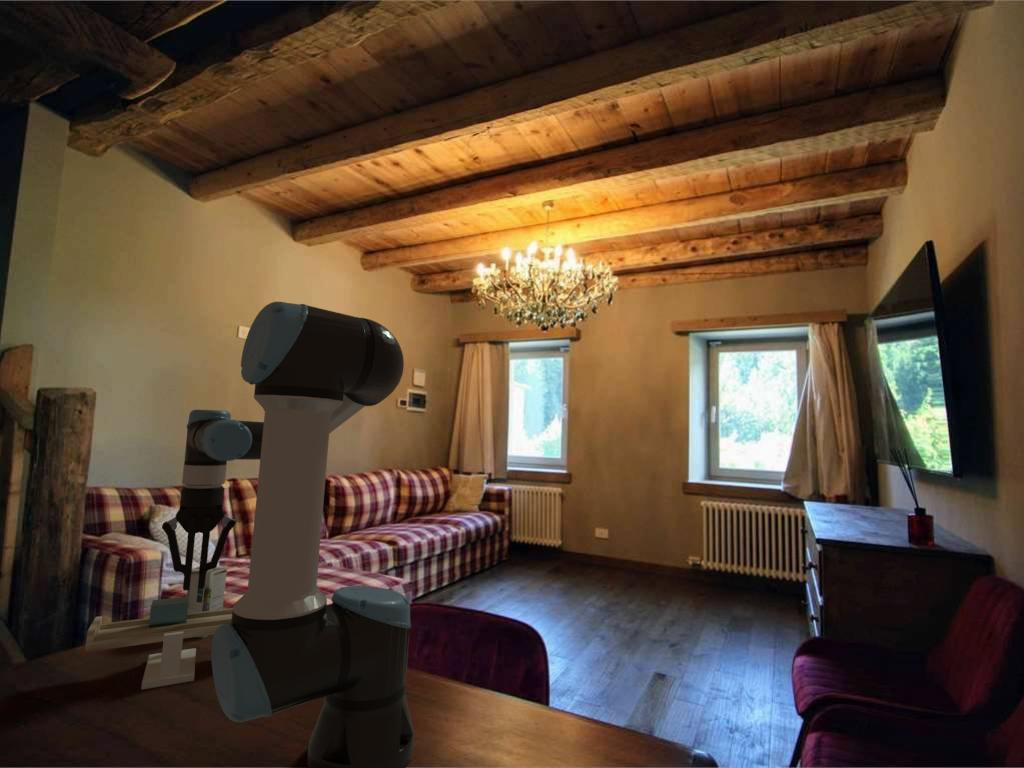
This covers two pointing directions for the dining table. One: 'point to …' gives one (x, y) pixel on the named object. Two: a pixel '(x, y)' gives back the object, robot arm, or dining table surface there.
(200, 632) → the balance beam
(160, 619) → the rider
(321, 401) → the robot arm
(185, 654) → the pivot stand
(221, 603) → the syrup box
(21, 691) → the dining table surface
